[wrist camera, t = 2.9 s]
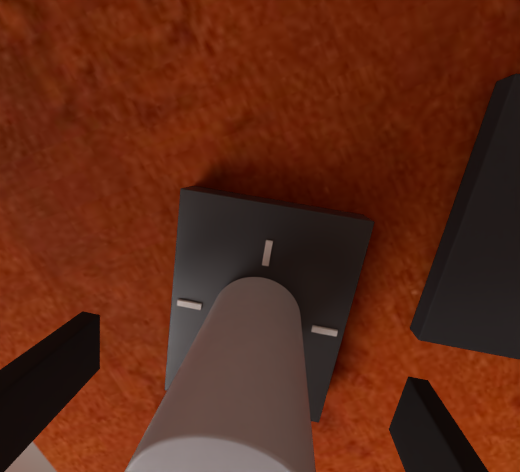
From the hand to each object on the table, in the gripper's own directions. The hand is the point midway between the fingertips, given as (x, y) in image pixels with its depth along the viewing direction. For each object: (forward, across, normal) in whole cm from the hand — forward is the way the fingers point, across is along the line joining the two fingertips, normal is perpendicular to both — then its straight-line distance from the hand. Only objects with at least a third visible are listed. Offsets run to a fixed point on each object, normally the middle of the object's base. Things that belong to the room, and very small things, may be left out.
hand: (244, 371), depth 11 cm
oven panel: (+6, 0, 0) cm, 6 cm away
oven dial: (+4, 0, 0) cm, 4 cm away
